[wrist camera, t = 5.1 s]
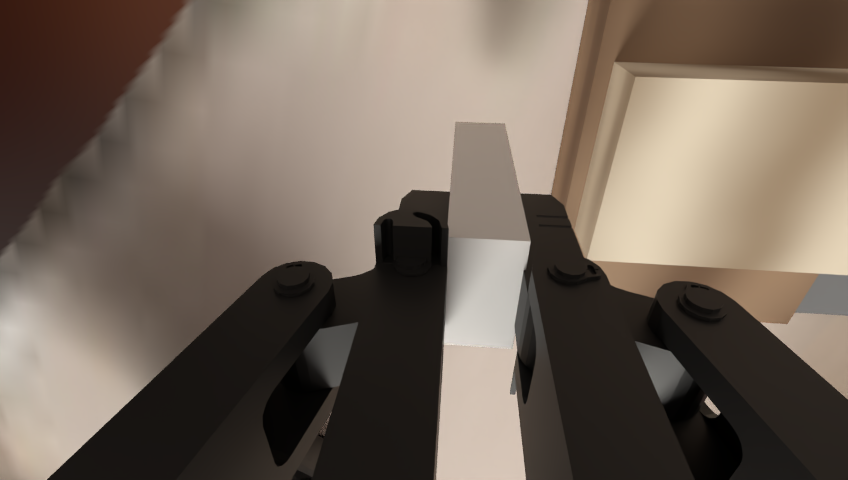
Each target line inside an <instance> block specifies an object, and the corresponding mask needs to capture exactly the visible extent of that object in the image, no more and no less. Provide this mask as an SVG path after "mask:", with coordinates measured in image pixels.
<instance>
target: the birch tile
mask: <svg viewBox="0 0 848 480" xmlns="http://www.w3.org/2000/svg"><path fill="white" fill-rule="evenodd" d="M575 232H576V235H577V237H578V240H579V242H580V245H581V247H582V250H583V252H584V255H585V257H586V258H587V259H589V260H592V261H609V262H627V263H644V264H661V265H679V266H696V267H713V268H731V269H748V270H765V271H782V272H800V273H817V274H834V275H848V69H835V68H802V67H768V66H734V65H701V64H667V63H634V62H614V65H613V69H612V73H611V78H610V82H609V86H608V90H607V94H606V99H605V103H604V107H603V111H602V116H601V120H600V124H599V128H598V132H597V137H596V141H595V145H594V149H593V154H592V158H591V162H590V166H589V170H588V175H587V179H586V183H585V187H584V192H583V196H582V200H581V204H580V208H579V213H578V217H577V221H576V225H575Z"/></svg>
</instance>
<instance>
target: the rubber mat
mask: <svg viewBox="0 0 848 480" xmlns="http://www.w3.org/2000/svg"><path fill="white" fill-rule="evenodd" d="M795 312H798V313H814V314H830V315H845V316H848V275H834V274H819V275H818V277H817V278H816V280H815V281H814V283H813V284H812V286H811V288H810V289H809V291H808V292H807V294H806V295H805V297H804V299H803V300H802V302H801V303H800V305H799V306H798V308H797V310H796V311H795Z"/></svg>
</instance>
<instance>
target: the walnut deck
mask: <svg viewBox="0 0 848 480" xmlns="http://www.w3.org/2000/svg"><path fill="white" fill-rule="evenodd" d="M614 62H634V63H667V64H701V65H734V66H768V67H802V68H835V69H848V0H589V2H588V7H587V12H586V17H585V22H584V28H583V33H582V38H581V43H580V48H579V53H578V59H577V64H576V69H575V74H574V79H573V85H572V90H571V95H570V100H569V105H568V111H567V116H566V121H565V126H564V131H563V136H562V142H561V147H560V152H559V157H558V162H557V168H556V173H555V178H554V183H553V188H552V194H551V195H552V196H553V197H555V198H556V199H557V200H558V201H559V202H561V203H562V204H563V205H564V207H565V210H566V212H567V215H568V219H569V220H570V223H571V225H572V228H573V230H574V233H575V235H576V232H575V225H576V221H577V217H578V213H579V208H580V204H581V200H582V196H583V192H584V187H585V183H586V179H587V175H588V170H589V166H590V162H591V158H592V154H593V149H594V145H595V141H596V137H597V132H598V128H599V124H600V120H601V116H602V111H603V107H604V103H605V99H606V94H607V90H608V86H609V82H610V78H611V73H612V69H613V65H614ZM576 238H577V241H578V243H579V246H580V248H581V251H582V254H583V256H584V258H586V257H585V255H584V252H583V250H582V247H581V245H580V242H579V240H578V237H577V235H576ZM591 261H592V260H591ZM592 262H594V263H595V264H597V265H598V266H600V267H601V269H602V270H603V271H604V273H605V274H606V275H607V278H608V280H609V282H610V285H612V286H614V287H616V288H619V289H622V290H625V291H629V292H633V293H636V294H640V295H644V296H648V297H652V298H654V297H655V295H656V292H657V290H658V289H659V288H660V287H661V286H662V285H663V284H665V283H669V282H673V281H690V282H695V283H699V284H704V285H707V286H710V287H711V288H714V289H716V290H718V291H721V292H723V293H724V294H726V295H727V296H729V297H730V298H732V299H733V300H734V301H736V302H737V303H738V304H740V305H741V306H742V307H743V308H744V309H745V310H746V311H747V312H749V313H750V314H751V315H752V316H753V317H754V318H755V319H757V320H758V321H759V322H766V323H781V324H788V322H789V320H790V319H791V317H792V316H793V314H794V313H795V311H796V310H797V308H798V306H799V305H800V303H801V302H802V300H803V299H804V297H805V295H806V294H807V292H808V291H809V289H810V288H811V286H812V284H813V283H814V281H815V280H816V278H817V277H818V275H819V274H817V273H800V272H782V271H765V270H748V269H731V268H713V267H696V266H679V265H661V264H644V263H627V262H609V261H592Z"/></svg>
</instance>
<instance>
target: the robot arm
mask: <svg viewBox="0 0 848 480" xmlns="http://www.w3.org/2000/svg"><path fill="white" fill-rule="evenodd" d="M374 238H375V253H376V265H375V268H374V269H372V270H371V271H368V272H366V273H363V274H360V275H356V276H352V277H346V278H339V279H332V273H331V272H330V271H329V270H328V269H327V268H326V267H325V266H323V265H320V264H318V263H315V262H306V261H298V262H291V263H286V264H283V265H280V266H278V267H275V268H273V269H271V270H270V271H268V272H267V273H266V274H264V275H263V276H262V277H260V278H259V279H258V280H257V281H256V282H255V283H254V284H253V285H252V286H251V287H250V288H249V289H248V290H247V291H246V292H245V293H244V294H243V295H241V296H240V297H239V298H238V299H237V300H236V301H235V302H234V303H233V304H232V305H231V306H230V307H229V308H228V309H227V310H226V311H225V312H224V313H222V314H221V315H220V316H219V317H218V318H217V319H216V320H215V321H214V322H213V323H212V324H211V325H210V326H209V327H208V328H207V329H206V330H205V331H203V332H202V333H201V334H200V335H199V336H198V337H197V338H196V339H195V340H194V341H193V342H192V343H191V344H190V345H189V346H188V347H187V348H185V349H184V350H183V351H182V352H181V353H180V354H179V355H178V356H177V357H176V358H175V359H174V360H173V361H172V362H171V363H170V364H169V365H168V366H166V367H165V368H164V369H163V370H162V371H161V372H160V373H159V374H158V375H157V376H156V377H155V378H154V379H153V380H152V381H151V382H150V383H149V384H147V385H146V386H145V387H144V388H143V389H142V390H141V391H140V392H139V393H138V394H137V395H136V396H135V397H134V398H133V399H132V400H131V401H130V402H128V403H127V404H126V405H125V406H124V407H123V408H122V409H121V410H120V411H119V412H118V413H117V414H116V415H115V416H114V417H113V418H112V419H110V420H109V421H108V422H107V423H106V424H105V425H104V426H103V427H102V428H101V429H100V430H99V431H98V432H97V433H96V434H95V435H94V436H93V437H91V438H90V439H89V440H88V441H87V442H86V443H85V444H84V445H83V446H82V447H81V448H80V449H79V450H78V451H77V452H76V453H75V454H74V455H72V456H71V457H70V458H69V459H68V460H67V461H66V462H65V463H64V464H63V465H62V466H61V467H60V468H59V469H58V470H57V471H56V472H55V473H53V474H52V475H51V476H50V477H49V478H48V479H47V480H436V469H437V452H438V435H439V419H440V402H441V385H442V368H443V347H444V344H446V345H461V346H475V347H490V348H504V349H513V344H514V338H515V334H516V342H517V355H516V361H515V366H514V372H513V378H512V383H511V390H510V394H515V393H516V390H517V399H518V408H519V418H520V427H521V436H522V445H523V454H524V464H525V473H526V480H848V400H847V399H846V398H845V397H844V396H843V395H842V394H841V393H840V392H838V391H837V390H836V389H835V388H834V387H833V386H832V385H830V384H829V383H828V382H827V381H826V380H825V379H824V378H822V377H821V376H820V375H819V374H818V373H817V372H816V371H815V370H813V369H812V368H811V367H810V366H809V365H808V364H807V363H805V362H804V361H803V360H802V359H801V358H800V357H799V356H797V355H796V354H795V353H794V352H793V351H792V350H791V349H790V348H788V347H787V346H786V345H785V344H784V343H783V342H782V341H780V340H779V339H778V338H777V337H776V336H775V335H774V334H772V333H771V332H770V331H769V330H768V329H767V328H766V327H765V326H763V325H762V324H761V323H760V322H759V321H758V320H757V319H755V318H754V317H753V316H752V315H751V314H750V313H749V312H747V311H746V310H745V309H744V308H743V307H742V306H741V305H740V304H738V303H737V302H736V301H734V300H733V299H732V298H730V297H729V296H727V295H726V294H724V293H723V292H721V291H718V290H716V289H714V288H711V287H710V286H707V285H704V284H699V283H695V282H690V281H673V282H669V283H665V284H663V285H662V286H661V287H660V288H659V289H658V290H657V292H656V295H655V297H654V298H652V297H648V296H644V295H640V294H636V293H633V292H629V291H625V290H622V289H619V288H616V287H614V286H612V285H610V282H609V280H608V278H607V275H606V274H605V273H604V271H603V270H602V269H601V267H600V266H598V265H597V264H595V263H594V262H592V261H591V260H589V259H587V258H584V256H583V254H582V251H581V248H580V246H579V243H578V241H577V238H576V235H575V233H574V230H573V228H572V225H571V223H570V220H569V219H568V215H567V212H566V210H565V207H564V205H563V204H562V203H561V202H559V201H558V200H557V199H556V198H555V197H553V196H552V195H541V194H520V190H519V186H518V181H517V177H516V172H515V168H514V163H513V159H512V154H511V149H510V145H509V140H508V136H507V131H506V127H505V124H500V123H471V122H455V135H454V148H453V161H452V174H451V187H450V192H442V191H420V190H412V191H411V192H410V193H408V194H407V195H406V196H405V197H404V198H402V200H401V204H400V207H399V210H395V211H391V212H388V213H386V214H384V215H383V216H381V217H379V218H378V219H377V221H376V222H375V223H374ZM707 396H708V397H709V399H710V400H711V401H712V402H713V404H714V405H715V406H716V407H717V408H718V410H719V411H720V412H721V413H720V414H719V415H717V414H715V413H714V412H713V411H712V410H711V409H710V408H709V407H708V406H707V405H706V404H705V402H704V401H705V399H706V398H707ZM331 411H332V413H331ZM330 413H331V416H330V419H329V423H328V426H327V430H326V433H325V436H324V438H322V437H320V436H318V433H319V432H320V430H321V428H322V426H323V425H324V423H325V421H326V420H327V418H328V416H329V415H330Z"/></svg>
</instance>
